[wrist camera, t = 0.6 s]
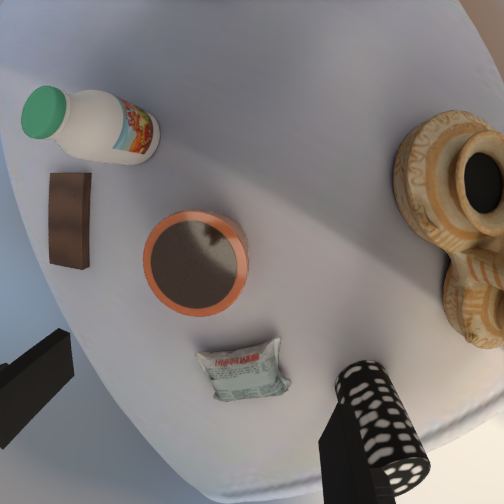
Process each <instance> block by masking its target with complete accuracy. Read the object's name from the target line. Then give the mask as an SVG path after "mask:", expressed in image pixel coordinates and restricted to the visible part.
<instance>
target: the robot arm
mask: <svg viewBox="0 0 504 504" xmlns="http://www.w3.org/2000/svg"><path fill="white" fill-rule="evenodd" d="M73 376H74V368H73V360H72V351H71V340H70V333H69V332H67V331H64V330H62V329H60V328H58V329H57V330H55V331H54V332H53V333H51V334H50V335H49V336H47V337H46V338H44V339H43V340H42V341H40V342H39V343H38V344H36V345H35V346H33V347H32V348H31V349H29V350H28V351H27V352H25V353H24V354H23V355H22V356H20V357H19V358H18V359H16V360H15V361H14V362H12V363H11V364H10V365H9V364H7V363H4V364H1V365H0V447H1V448H2V449H4V448H5V447H6V446H7V445H8V444H9V443H10V442H11V441H12V440H13V438H14V437H15V436H16V435H17V434H18V433H19V432H20V431H21V430H22V429H23V428H24V427H25V426H26V425H27V424H28V423H29V422H30V420H31V419H32V418H33V417H34V416H35V415H36V414H37V413H38V412H39V411H40V410H41V409H42V408H43V407H44V406H45V405H46V404H47V403H48V402H49V401H50V400H51V399H52V398H53V397H54V396H55V395H56V394H57V393H58V392H59V391H60V390H61V389H62V387H63V386H64V385H65V384H66V383H67V382H68V381H69V380H70V379H71V378H72V377H73ZM318 443H319V453H320V463H321V474H322V485H323V497H324V504H396V502H395V498H394V496H393V491H392V488H391V484H390V480H389V477H388V475H387V474H386V473H385V472H384V470H383V469H382V468H369V464H368V460H367V456H366V452H365V448H364V444H363V441H362V437H361V433H360V429H359V425H358V422H357V418H356V414H355V411H354V407H353V405H351V404H341V403H337V405H336V407H335V409H334V412H333V414H332V416H331V418H330V420H329V422H328V424H327V426H326V428H325V430H324V432H323V434H322V436H321V437H320V439H319V441H318Z"/></svg>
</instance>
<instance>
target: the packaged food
mask: <svg viewBox="0 0 504 504" xmlns="http://www.w3.org/2000/svg"><path fill="white" fill-rule="evenodd" d="M280 341H281V337H275V338H272V339H270V340H269V341H267V342H265V343H263V344H260V345H256V346H253V347H248V348H244V349H237V350H235V351H221V352H196V353H195V357H196V358H197V359H198V360H199V362H200V364H201V365H202V366H203V368H202V369H203V370H204V371H205V372H206V373H207V375H208V376H209V378H210V380H211V382H212V384H213V387H214V389H215V391H216V392H215V394H214V395H213V398H214V399H217V400H220V401H224V402H228V401H234V400H240V399H246V398H257V397H267V396H280V395H282V394H283V393H284V392H286V391H287V390H288V387H289V386H290V385H291V381H290V379H288V378H286V377H285V376H284V375H282V373H281V372H280V371H279V370H278V357H279V348H280V347H279V346H280V343H281V342H280Z"/></svg>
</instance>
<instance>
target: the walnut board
mask: <svg viewBox="0 0 504 504" xmlns="http://www.w3.org/2000/svg"><path fill="white" fill-rule="evenodd" d="M91 174H92V173H50V185H49V218H48V226H49V259H50V264H55V265H60V266H65V267H70V268H75V269H80V270H83V269H85V268H88V267H89V209H90V189H91Z"/></svg>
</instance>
